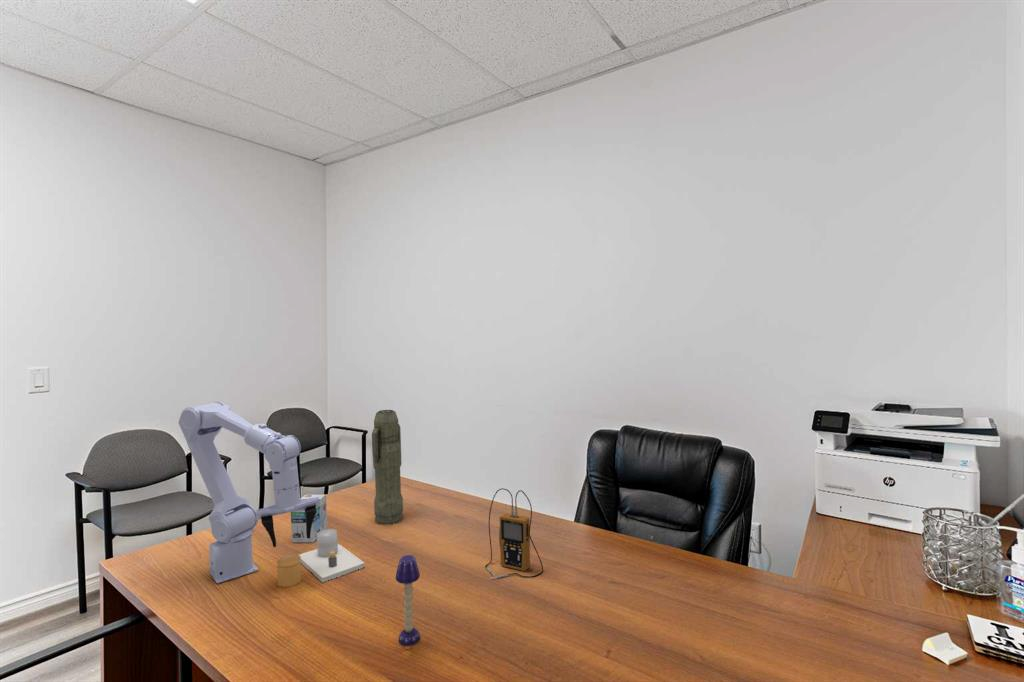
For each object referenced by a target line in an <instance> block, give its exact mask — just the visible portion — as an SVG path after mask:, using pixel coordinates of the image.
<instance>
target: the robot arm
mask: <svg viewBox="0 0 1024 682" xmlns="http://www.w3.org/2000/svg"><path fill="white" fill-rule="evenodd" d="M178 419H179V420H178V426H179V427H180V430H181V432H182V434H183V437H184V439H185V442H186V443H187V447H188V449H189V451H190V454H191V455H192V458H193V460H194V462H195V464H196V467H197V470H198V471H199V473H200V476H201V478H202V480H203V482H204V484H205V487H206V490H207V492H208V494H209V496H210V499H211V500H212V503H213V505H214V507H213V509H212V511H211V512H210V514H209V516H208V521H209V522H210V528H211V534H212V537H213V538H214V539H215V540H216V541H214V542H212V543H210V544H209V546H208V547H209V548H208V549H209V550H208V551H209V553H208V554H209V574H210V576H211V577H212V579H213V580H214V581H215V583H216V584H221V583H223V582H227V581H230V580H233V579H236V578H239V577H242V576H246V575H249V574H251V573H255V572H257V571H259V568H258V567H257V565H256V564H255V563H254V562H253V537H252V535H253V534H252V533H254V532H255V531H254V530H255V529H254V528H255V527H256V526H257V525H258V523H259V520H261V525H262V526H263V527H264V529H265V530H266V532H267V534H268V536H269V538H270V540H271V543H272V548H277V539H276V535H275V530H274V529H275V528H274V518H273V516H274V517H275V516H279V515H284V514H287V513H291V512H293V511H297V510H302V509H305V517H306V535H307V539H309V538H310V533H311V527H312V523H313V520H314V517H315V514H316V511H317V510H316V507H319V506H321V505H320V498H319V497H315V498H308V499H301V491H300V480H299V471H298V470H299V468H298V461H297V460H298V459H297V457H298V456H300V453H301V451H302V445H301V443H300V440H299V439H298V438H297V437H296V436H294V435H292V434H288V435H282V433H281V432H277V431H274V430H273V429H271V428H269V427H268V425H267V424H265V423H264V422H263V423H256V424H252V423H250V422H249V421H247V419H246V420H245V419H244V418H242V417H241V416H240V415H238V414H236V413H235V412H234V411H232V410H231V406H229V405H227V404H225V403H223V402H222V401H214V402H211V403H207V404H202V405H196V406H187V407H185V408H184V409H183V410H182V411H181V413H180V416H179V418H178ZM222 429H225V430H227V431H229V432H231V433H234V434H236V435H238V436H240V437H243V438H244V439H243V441H244V443H245V444H246V445H247V446H249V447H251V448H253V449H254V450H256V451H258V452H260V453H262V454H264V458H265V460H266V461H267V463H268V465H269V470H270V471H271V472H272V473H271V474H272V476H271V477H272V482H273V483H272V484H273V492H274V494H273V495H274V504H272V505H270V506H266V507H263V508H259V509H255V507H253V506H252V505H251V504H250V501H249V498H248V499H247V498H246V497H242V496H241V495H238V494H237V492H236V489H235V487H234V485H233V483H232V481H231V478H230V476H229V474H228V471H227V470H226V467H225V464H224V462H223V461H222V459H221V455H220V454H219V451H218V449H217V447H216V445H215V443H214V440H215V438H216V436H218V435H219V433H220V432H221V430H222Z"/></svg>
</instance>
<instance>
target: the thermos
mask: <svg viewBox="0 0 1024 682" xmlns="http://www.w3.org/2000/svg"><path fill="white" fill-rule="evenodd" d="M401 435H402V434H401V425H400V424H399V418H398V415H397V412H396V411H395V410H393V409H383V410H381V409H380V410H378V411H377V412H376V413H375V415H374V419H373V429H372V431H371V446H372V450H371V451H372V452H371V453H372V461H373V462H372V466H373V469H374V477H375V478H374V480H375V481H374V482H375V483H374V485H375V487H374V488H375V496H374V499H373V500H374V501H373V503H374V505H373V506H374V507H373V508H374V515H375V519H374V522H375V523H376V522H377V523H379V524H378V525H380V524H391V525H394V524H393V523H395V524H397V522H398V523H400V522H401V520H402V521H403V519H404V515H403V511H404V498H403V495H402V485H401V481H402V480H401V466H402V438H401V437H402V436H401ZM399 521H400V522H399ZM377 523H376V524H377Z"/></svg>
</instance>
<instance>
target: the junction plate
mask: <svg viewBox="0 0 1024 682" xmlns="http://www.w3.org/2000/svg"><path fill="white" fill-rule="evenodd" d="M298 555H299V556H300V557H301V565H302V566H303V567H305V568H306V569H307V570H308V571H309V570H310V571H309V572H310V573H311V572H312V573H313V574H312V573H311V574H312V575H314V576H315V577H316V578H317V580H319V581H320V582H321V583H326V582H328V580H329V581H332V580H334V579H336V577H337V578H339V577H343V576H346V575H348V574H351V573H353V571H354V572H356V571H359V570H361V568H362V569H364V568H363V567H365V568H366V563H365V562H364V561H362V560H361V559H360V558H359V557H357V556H356V555H355V554H353V553H352V552H350V551H349V550H348V549H346V548H345V547H344V546H342V545H341V544H339V542H338V530H337V529H335V528H327V529H325V530H322V531H320V532H318V533H317V539H316V548H315V549H312V550H309V551H305V552H303V553H300V554H298ZM358 569H359V570H358ZM355 570H356V571H355ZM350 572H351V573H350ZM347 573H348V574H347ZM342 575H343V576H342ZM331 579H332V580H331ZM325 581H326V582H325Z"/></svg>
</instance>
